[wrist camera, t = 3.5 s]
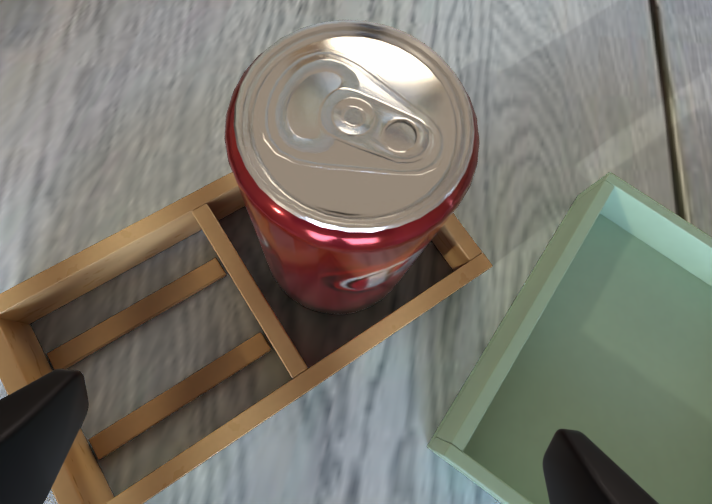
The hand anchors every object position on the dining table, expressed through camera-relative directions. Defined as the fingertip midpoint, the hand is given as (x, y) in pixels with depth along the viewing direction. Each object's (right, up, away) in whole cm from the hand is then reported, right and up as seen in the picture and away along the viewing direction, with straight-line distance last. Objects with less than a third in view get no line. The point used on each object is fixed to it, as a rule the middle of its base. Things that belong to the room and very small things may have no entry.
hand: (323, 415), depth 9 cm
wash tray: (+14, -4, +14) cm, 21 cm away
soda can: (0, +3, +15) cm, 16 cm away
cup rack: (-4, +1, +14) cm, 15 cm away
